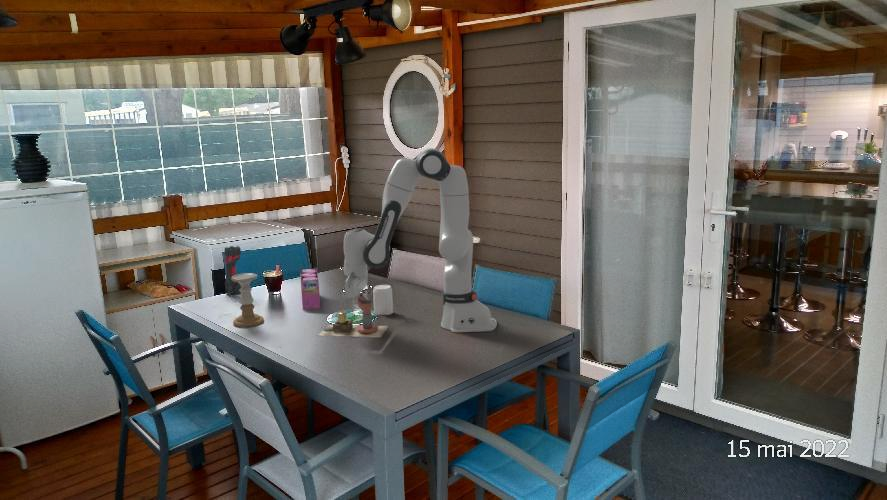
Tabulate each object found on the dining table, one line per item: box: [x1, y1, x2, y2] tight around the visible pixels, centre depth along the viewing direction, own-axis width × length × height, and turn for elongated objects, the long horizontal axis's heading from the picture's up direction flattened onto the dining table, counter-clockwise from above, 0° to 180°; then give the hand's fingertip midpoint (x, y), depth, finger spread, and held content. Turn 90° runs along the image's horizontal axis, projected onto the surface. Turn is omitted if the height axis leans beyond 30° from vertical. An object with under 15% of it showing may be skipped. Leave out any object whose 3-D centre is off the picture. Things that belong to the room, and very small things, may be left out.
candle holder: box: [231, 272, 265, 328], centre depth 266 cm, size 12×12×20 cm
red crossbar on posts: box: [356, 293, 379, 333], centre depth 253 cm, size 15×8×12 cm, turn 21°
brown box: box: [332, 319, 354, 333], centre depth 252 cm, size 6×6×3 cm
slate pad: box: [322, 326, 333, 331], centre depth 253 cm, size 4×4×1 cm
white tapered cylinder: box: [372, 284, 394, 316], centre depth 274 cm, size 8×8×12 cm
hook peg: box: [337, 311, 347, 325], centre depth 252 cm, size 3×3×7 cm
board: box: [317, 323, 390, 338], centre depth 251 cm, size 25×13×2 cm, turn 81°
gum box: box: [299, 267, 321, 310], centre depth 295 cm, size 24×8×14 cm, turn 12°
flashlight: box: [224, 245, 242, 296], centre depth 312 cm, size 8×8×23 cm
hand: (356, 303), depth 254 cm, fingers closed
